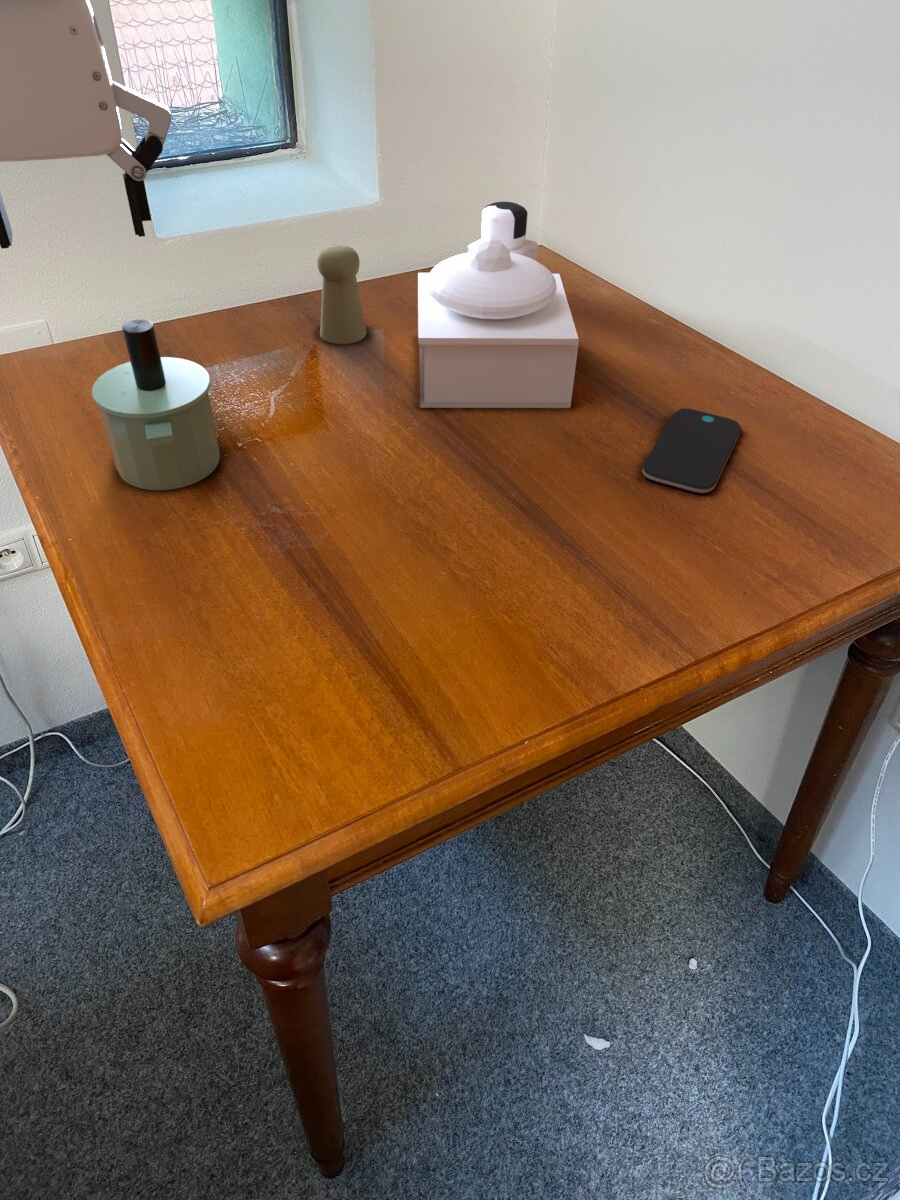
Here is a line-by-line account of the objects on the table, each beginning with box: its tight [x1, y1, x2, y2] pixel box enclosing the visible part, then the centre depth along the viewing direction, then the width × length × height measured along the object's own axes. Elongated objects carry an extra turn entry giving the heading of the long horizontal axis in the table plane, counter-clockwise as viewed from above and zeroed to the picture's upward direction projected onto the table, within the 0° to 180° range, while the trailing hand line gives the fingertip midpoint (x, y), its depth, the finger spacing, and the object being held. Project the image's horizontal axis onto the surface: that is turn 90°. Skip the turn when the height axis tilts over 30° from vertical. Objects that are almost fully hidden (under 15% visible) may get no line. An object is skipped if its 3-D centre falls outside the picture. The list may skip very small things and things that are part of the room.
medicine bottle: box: [466, 201, 539, 261], centre depth 120 cm, size 7×7×12 cm
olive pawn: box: [316, 244, 367, 345], centre depth 110 cm, size 6×6×11 cm
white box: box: [417, 239, 580, 409], centre depth 102 cm, size 18×18×16 cm
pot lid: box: [91, 319, 212, 418], centre depth 84 cm, size 11×11×7 cm
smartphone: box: [642, 407, 742, 494], centre depth 94 cm, size 8×1×15 cm
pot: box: [98, 392, 221, 491], centre depth 89 cm, size 10×16×8 cm, turn 18°
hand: (74, 236), depth 67 cm, fingers open, 9 cm apart
